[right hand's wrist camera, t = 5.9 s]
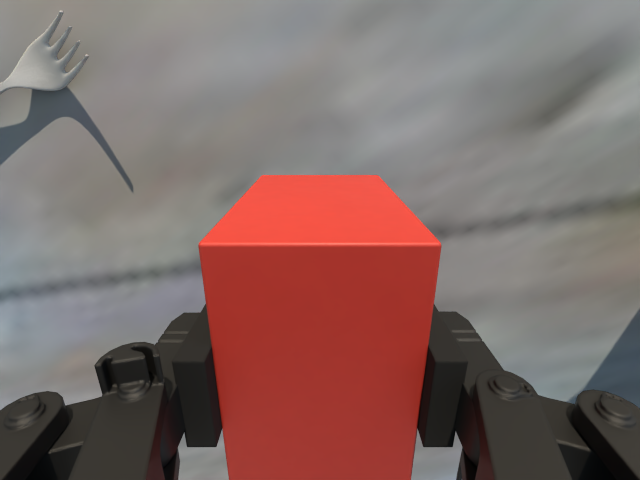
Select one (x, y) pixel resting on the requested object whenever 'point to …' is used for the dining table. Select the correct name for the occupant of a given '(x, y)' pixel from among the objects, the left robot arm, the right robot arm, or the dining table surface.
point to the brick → (319, 328)
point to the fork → (44, 64)
